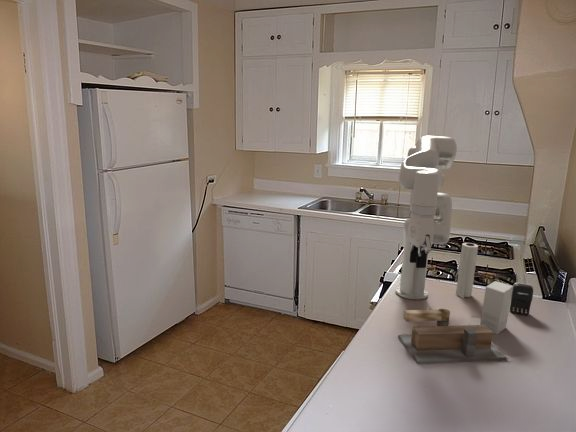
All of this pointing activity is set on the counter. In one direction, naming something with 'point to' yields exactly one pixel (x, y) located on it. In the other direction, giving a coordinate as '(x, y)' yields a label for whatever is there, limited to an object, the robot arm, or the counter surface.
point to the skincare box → (496, 306)
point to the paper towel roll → (466, 269)
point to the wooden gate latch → (451, 344)
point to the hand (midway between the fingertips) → (417, 264)
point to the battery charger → (521, 298)
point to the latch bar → (426, 315)
